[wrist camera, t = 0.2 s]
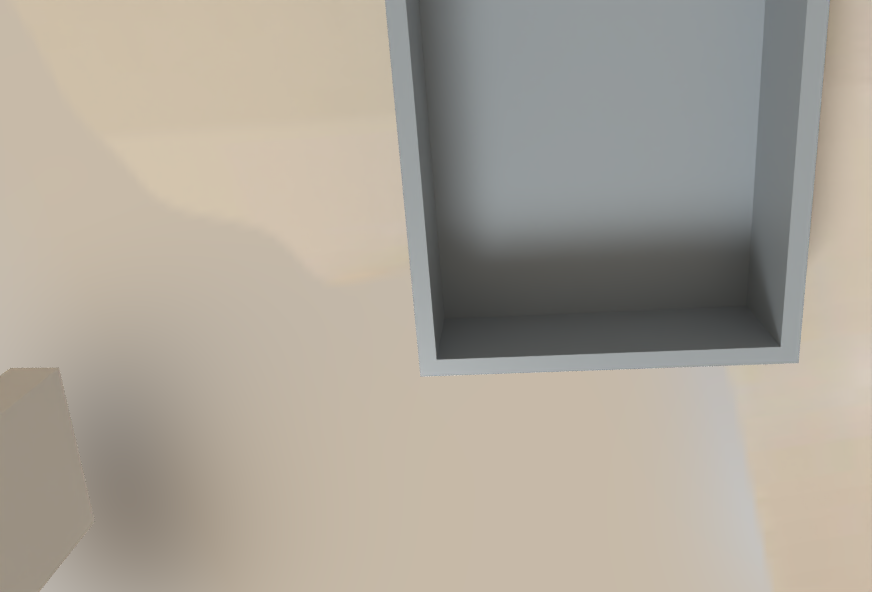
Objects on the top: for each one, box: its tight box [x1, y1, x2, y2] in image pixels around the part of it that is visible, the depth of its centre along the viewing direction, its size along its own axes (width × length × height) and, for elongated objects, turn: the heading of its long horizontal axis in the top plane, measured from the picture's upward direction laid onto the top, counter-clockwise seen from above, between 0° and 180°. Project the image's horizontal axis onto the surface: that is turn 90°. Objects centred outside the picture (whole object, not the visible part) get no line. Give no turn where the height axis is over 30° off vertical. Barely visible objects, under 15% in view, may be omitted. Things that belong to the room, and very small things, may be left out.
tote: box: [385, 0, 830, 376], centre depth 33 cm, size 26×17×6 cm, turn 4°
